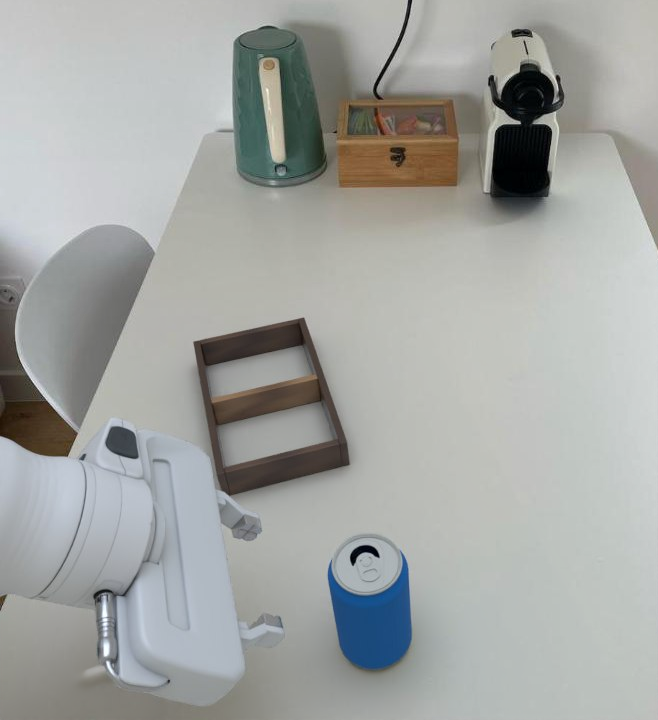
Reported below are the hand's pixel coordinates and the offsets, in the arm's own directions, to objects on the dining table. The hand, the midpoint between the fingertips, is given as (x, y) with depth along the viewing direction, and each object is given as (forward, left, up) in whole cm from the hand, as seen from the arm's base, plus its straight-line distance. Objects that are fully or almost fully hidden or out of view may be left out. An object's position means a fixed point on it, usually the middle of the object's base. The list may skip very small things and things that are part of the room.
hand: (266, 577), depth 61 cm
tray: (+4, +31, -14) cm, 34 cm away
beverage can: (+8, 0, -14) cm, 16 cm away
